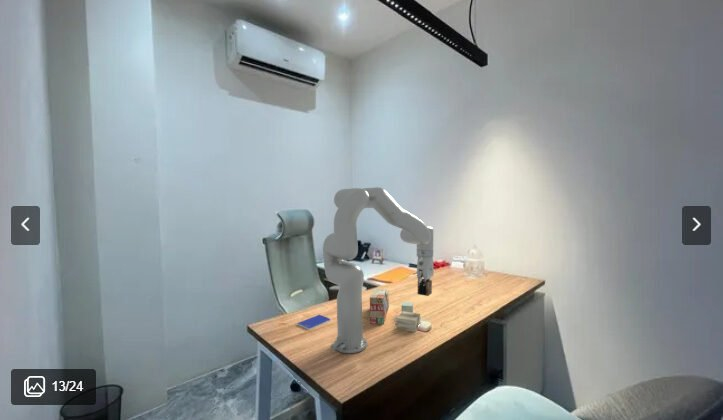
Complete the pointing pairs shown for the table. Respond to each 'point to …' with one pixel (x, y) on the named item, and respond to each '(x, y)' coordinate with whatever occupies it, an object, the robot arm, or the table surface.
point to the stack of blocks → (379, 306)
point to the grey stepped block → (408, 321)
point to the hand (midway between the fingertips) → (424, 292)
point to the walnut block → (427, 287)
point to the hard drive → (314, 322)
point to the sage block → (407, 307)
